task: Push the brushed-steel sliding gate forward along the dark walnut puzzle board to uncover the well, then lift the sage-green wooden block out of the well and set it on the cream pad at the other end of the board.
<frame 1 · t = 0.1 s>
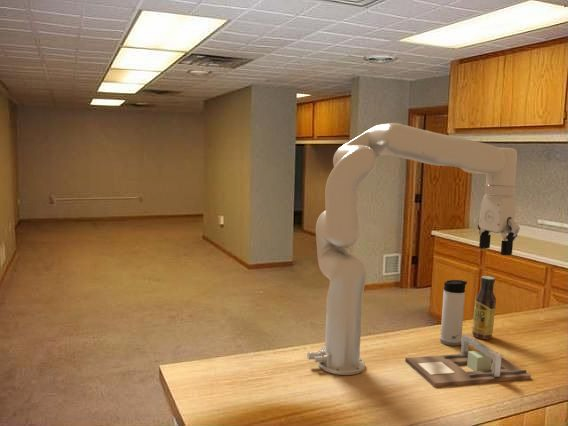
hand: (494, 251, 146), 31 cm above the counter, tool pointing down, fingers open, 9 cm apart
board: (465, 369, 139), on the counter
travel mug: (451, 343, 159), on the counter
sauce bottle: (482, 337, 165), on the counter
block: (478, 369, 140), resting in board
gate: (479, 354, 139), point 4 cm above the counter, slide at 0.0 cm
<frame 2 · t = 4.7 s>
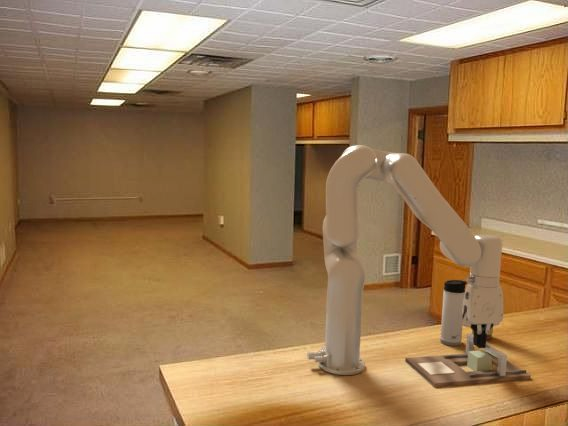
hand: (479, 346, 139), 6 cm above the counter, tool pointing down, fingers closed
gate: (485, 353, 140), point 4 cm above the counter, slide at 1.7 cm, touching gripper
everything else where it was.
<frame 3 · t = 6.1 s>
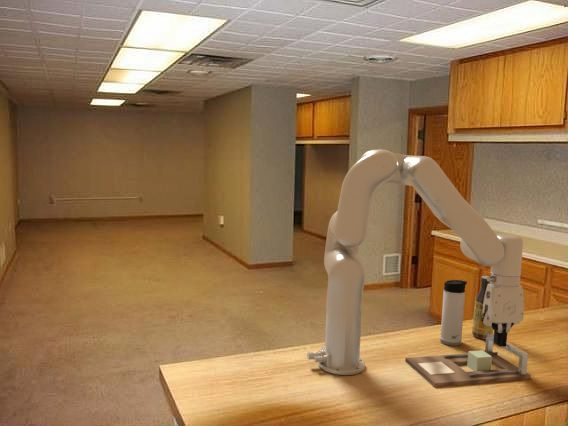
hand: (499, 344, 140), 6 cm above the counter, tool pointing down, fingers closed
gate: (505, 352, 141), point 4 cm above the counter, slide at 8.0 cm, touching gripper
everything else where it was.
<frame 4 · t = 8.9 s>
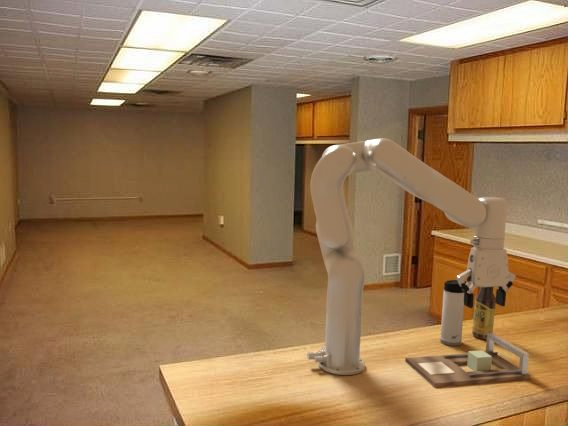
hand: (484, 305, 138), 18 cm above the counter, tool pointing down, fingers open, 9 cm apart
gate: (506, 352, 141), point 4 cm above the counter, slide at 8.2 cm
everything else where it was.
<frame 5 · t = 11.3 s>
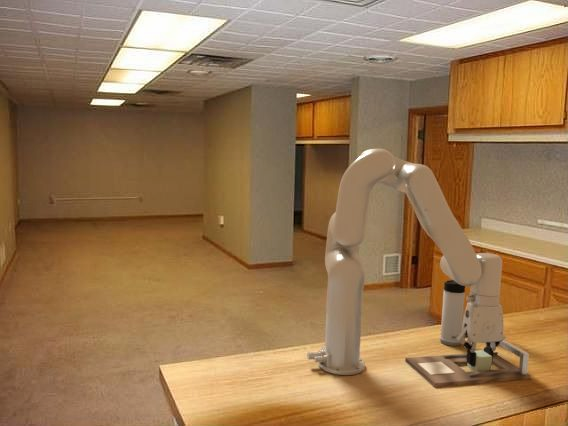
hand: (479, 363, 140), 2 cm above the counter, tool pointing down, fingers closed on block, 4 cm apart
block: (478, 369, 140), resting in board, touching gripper
everything else where it was.
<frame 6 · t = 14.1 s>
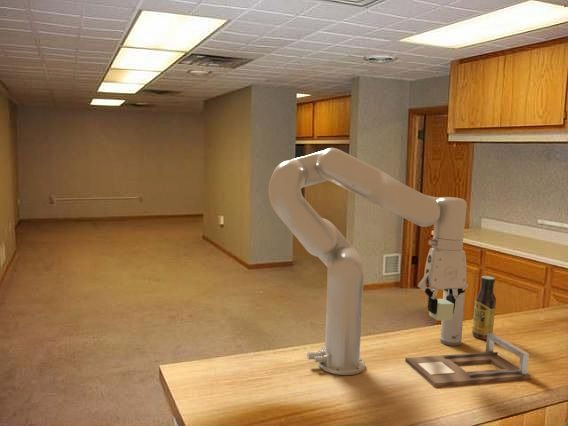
hand: (440, 311, 135), 17 cm above the counter, tool pointing down, fingers closed on block, 4 cm apart
block: (440, 317, 135), point 15 cm above the counter, touching gripper
everything else where it was.
when the fingers open (4 cm above the counter, at t = 17.0 s): block drops 1 cm, resting on board.
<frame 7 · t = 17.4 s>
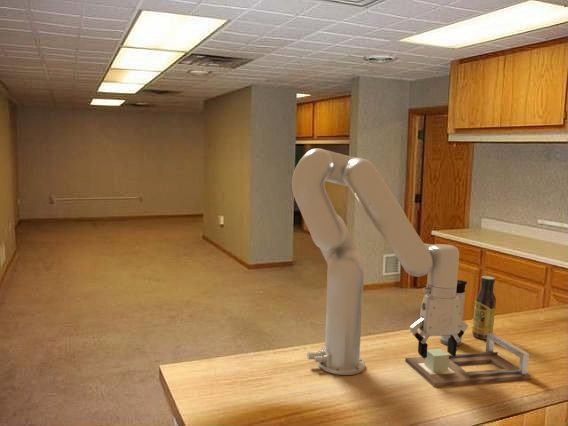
hand: (437, 354, 136), 5 cm above the counter, tool pointing down, fingers open, 8 cm apart
block: (436, 367, 137), point 1 cm above the counter, touching board
everything else where it was.
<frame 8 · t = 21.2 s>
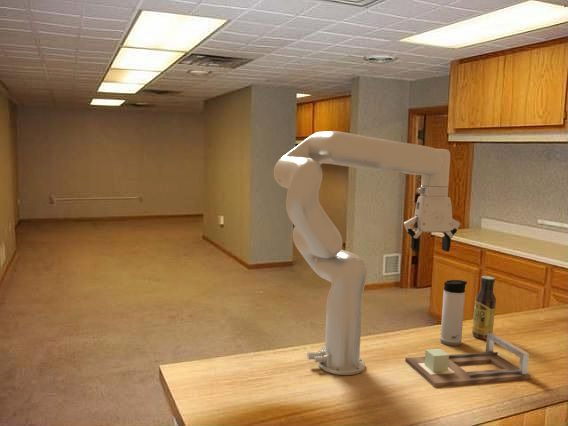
hand: (430, 251, 148), 30 cm above the counter, tool pointing down, fingers open, 9 cm apart
nothing on the counter moved.
at the end: gate slide at 8.2 cm; block 0.1 cm from the target spot on the board, point 1.2 cm above the board's base; block tilted 0° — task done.
